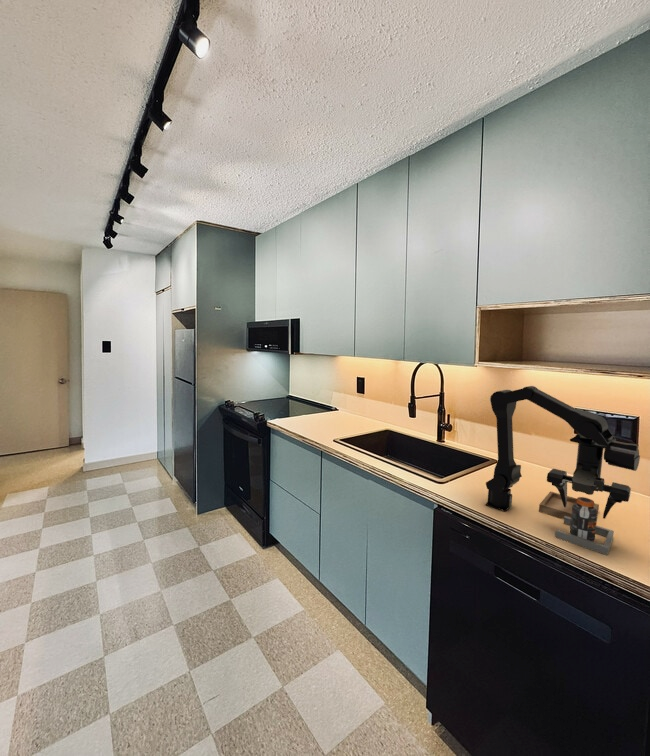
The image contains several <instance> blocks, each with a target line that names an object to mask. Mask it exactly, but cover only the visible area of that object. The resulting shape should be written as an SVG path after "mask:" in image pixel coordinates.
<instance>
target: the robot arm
mask: <svg viewBox="0 0 650 756" xmlns="http://www.w3.org/2000/svg"><path fill="white" fill-rule="evenodd" d="M525 400H527V401H529V402H530V403H533V404H535V405H537V406H538V407H540V408H541V409H544V410H546V411H547V412H549V413H551V414H553V415H554V416H556V417H558V418H560V419H562V420H563V421H564V422H566V423H567V424H568V425H569V426H570V427H571V428H572V430H574V431H575V432H577V434H576V435H575V436H573V437H571V438H570V439H569V441H570V442H572V443H577V456H576V464H575V470H574V471H573V474H572V476H571V475H568V474H567V470H563V469H562V470H561V469H558V468H552V469H551V470H549V472H548V473H547V475H546V482H547V483H550V484H551V486H552V487H553V486H554V487H555V488H556V489H557V492H558V494H560V496H561V499H562V502H563V506H564V507H566V505H567V496H568V483H569V484H571V489H572V491H574V492H575V493H576V492H579V493H583V494H586V495H589V496H592V495H594V493H595V492H601V493H603V492H606V493H609V494H608V497H607V499H606V503H605V508H604V511H603V515H602V519H604V520H605V519H606V517H607V516H608V514H609V513H610V510H611V509H612V508H613V507H614V505H615V504H616V503H618V504H622V503H623V502H624V503H625V502H627V503H629V500H630V497H631V491H632V490H631V489H632V488H631V487H630V486H629V485H627V484H623V483H618V482H611V483H612V484H611V485H609V484H605V479H604V477H603V478H602V477H601V476H602V465H603V460H604V461H605V463H607V465H609V466H612V467H617V468H620V469H621V468H622V469H625V470H630V471H635V472H636V471H637V470H638V467H639V465H640V461H641V455H640V449H639V446H640V445H639V444H638V443H629V442H628V443H627V442H621V441H617V439H616V437H615V436H614V435H613V433H612V432H611V430H610V429H609V424H608V420H606V419H605V417H603V416H601V415H599V414H596V413H593V412H589V411H586V410H581V409H579V408H575V407H573V406H572V405H569V404H567V403H565V402H563V401H562V400H559V399H558V398H556V397H553V396H552V395H550V394H548V393H547V392H544V391H543V390H541V389H538V388H537V387H536V386H534V385H530V386H525V387H523V388H519V389H515V390H511V389H503V390H497V391H495V392H493V393H492V394H491V395H490V398H489V401H490V405H491V410H492V412H493V413H494V416H495V418H496V439H497V440H496V441H497V461H496V464H495V467H494V470H493V477H492V478H491V479H490V480H488V481H486V482H485V485H486V489H487V491H488V493H487V502H486V503H485V506H488V507H490V508H493V509H496V510H500V511H503V512H507V510H509V509H510V508H511V507H512V506H513V505H512V504H513V494H512V489H511V488H513V486H514V485H516V484H518V482H519V481H520V478H522V477H523V476H522V473H521V472H522V471H521V469H522V465H521V464H517V463H516V461H515V457H514V435H513V433H514V432H513V431H514V429H513V416H514V414H515V411H516V407H517V402H521V401H525Z"/></svg>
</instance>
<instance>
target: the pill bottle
mask: <svg viewBox="0 0 650 756" xmlns="http://www.w3.org/2000/svg"><path fill="white" fill-rule="evenodd" d="M576 498H577V503H576V504H574V505H573V506H572V514H571V523H570V525H569V534H572V535H575V536H578V537H581V538H584V539H587V540H590V541H593V542H595V540H596V526H597V522H598V521H597V520H598V514H599V511H598V512H597V510H596V509H595V508H594V503H595V500H594V499H591V498H588V497H584V496H578V497H576Z"/></svg>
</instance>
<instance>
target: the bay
mask: <svg viewBox="0 0 650 756" xmlns="http://www.w3.org/2000/svg"><path fill="white" fill-rule="evenodd" d="M570 523H571V518H570V517H566V516H564V519H563V525H564V524H565V525H568V526H570ZM614 532H615V530H613V529H609V528H606V527H603V526H600V525H596V533H595V535H600V536H603V537H606V538H605V541H604V544H603V543H598V542H595V541H590V540H587V539H584V538H581V537H578V536H575V535H572V534H570V532H569V533H568V532H565V531H562V530H559V529H555V532H554V538H555V537H556V538H555V539H559V540H561V539H562V540H561V541H564V540H565V541H564V542H567V541H568V543H570V544H573V545H575V546H579V547H582V548H585V549H588V550H590V551H594V552H597V553H599V554H602V555H605V556H608V554H609V552H610V548H611V545H612V542H613V539H614V534H615V533H614Z"/></svg>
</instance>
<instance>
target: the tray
mask: <svg viewBox="0 0 650 756" xmlns="http://www.w3.org/2000/svg"><path fill="white" fill-rule="evenodd" d="M577 498H578V497H572V496H570V495H567V505H566V507H564V506H563V502H562V499H561V496H560V493H559V492H554V491H549V492H547V495H546V496H545V497H544V499H542V500H541V502H540V503H539V505H538V506H539V507H538V512H539V513H541V514H542V513H543V514H546V515H549V516H552V517H555V518H559V519H562V520H564V516H566V517H570V518H571V514H572V506H573V505H574V504H576V503H577ZM594 508H595V509H596V510H597V512H598V513H599V509H600V504H599V503H595V502H594Z"/></svg>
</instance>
